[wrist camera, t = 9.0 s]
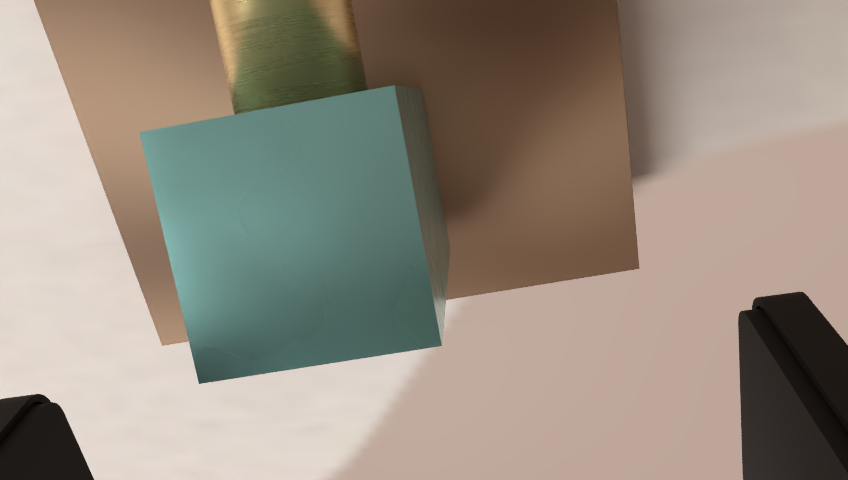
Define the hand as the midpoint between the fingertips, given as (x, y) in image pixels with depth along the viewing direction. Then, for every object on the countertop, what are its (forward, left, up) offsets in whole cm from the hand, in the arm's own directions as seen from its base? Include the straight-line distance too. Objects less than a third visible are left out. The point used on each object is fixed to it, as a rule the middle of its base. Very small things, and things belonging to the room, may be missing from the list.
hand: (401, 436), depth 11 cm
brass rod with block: (+5, -6, -10) cm, 12 cm away
